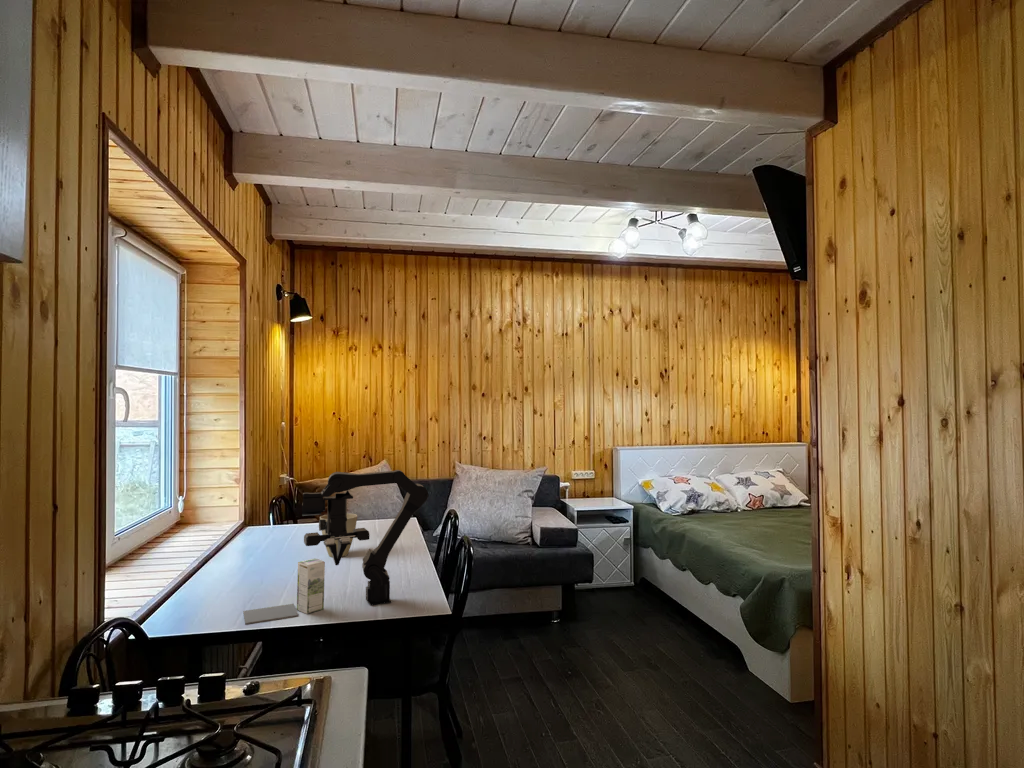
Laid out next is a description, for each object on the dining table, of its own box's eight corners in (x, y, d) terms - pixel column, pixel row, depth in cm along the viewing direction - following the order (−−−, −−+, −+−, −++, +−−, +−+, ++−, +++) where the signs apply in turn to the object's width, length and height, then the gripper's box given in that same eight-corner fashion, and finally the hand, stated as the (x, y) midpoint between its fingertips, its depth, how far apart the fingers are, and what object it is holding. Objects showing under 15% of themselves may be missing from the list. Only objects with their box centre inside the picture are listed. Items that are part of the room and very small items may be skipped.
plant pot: (364, 554, 240) (364, 515, 240) (331, 561, 229) (331, 521, 230) (344, 549, 250) (345, 511, 251) (312, 555, 239) (313, 516, 240)
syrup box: (313, 605, 178) (314, 557, 179) (324, 609, 175) (325, 560, 175) (296, 610, 174) (297, 561, 175) (307, 614, 170) (307, 564, 171)
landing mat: (293, 604, 179) (293, 603, 179) (298, 616, 169) (298, 614, 169) (243, 612, 172) (243, 610, 172) (245, 624, 163) (245, 623, 163)
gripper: (361, 507, 190) (361, 555, 190) (301, 512, 182) (301, 562, 181) (369, 512, 180) (369, 563, 180) (306, 518, 172) (306, 571, 171)
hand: (336, 565), depth 178 cm, fingers closed
